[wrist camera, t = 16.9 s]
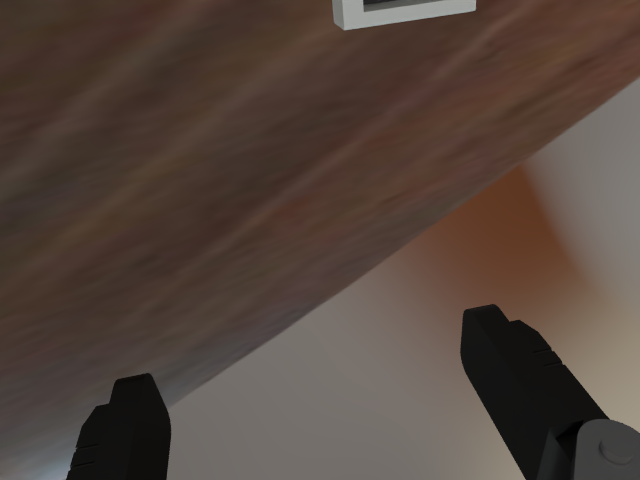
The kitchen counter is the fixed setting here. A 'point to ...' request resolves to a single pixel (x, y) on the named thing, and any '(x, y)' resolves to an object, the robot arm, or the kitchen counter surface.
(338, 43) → the kitchen counter surface
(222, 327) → the kitchen counter surface
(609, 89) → the kitchen counter surface
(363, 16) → the board
